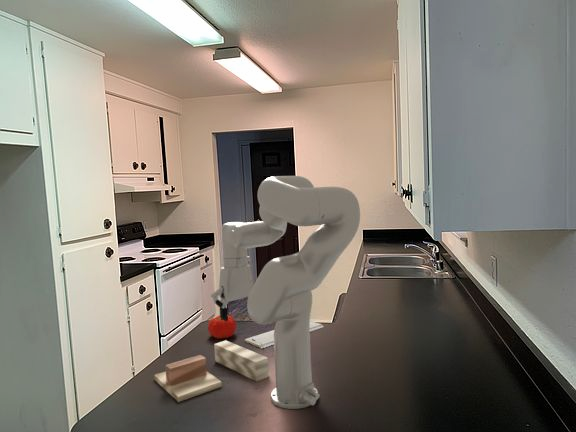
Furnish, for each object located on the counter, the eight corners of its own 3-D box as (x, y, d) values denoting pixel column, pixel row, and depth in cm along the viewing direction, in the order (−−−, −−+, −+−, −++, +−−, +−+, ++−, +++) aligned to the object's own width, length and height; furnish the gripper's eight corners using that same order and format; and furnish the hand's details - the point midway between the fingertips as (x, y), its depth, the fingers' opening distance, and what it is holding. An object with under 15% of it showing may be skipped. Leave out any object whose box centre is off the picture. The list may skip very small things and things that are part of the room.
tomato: (216, 330, 170) (215, 312, 169) (241, 332, 166) (240, 314, 166) (202, 340, 160) (201, 320, 159) (228, 342, 156) (227, 322, 156)
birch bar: (268, 377, 126) (267, 357, 126) (256, 382, 123) (255, 362, 123) (226, 357, 143) (225, 340, 142) (215, 361, 140) (214, 344, 139)
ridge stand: (221, 386, 121) (220, 364, 121) (178, 402, 113) (177, 378, 113) (194, 367, 135) (193, 347, 135) (154, 379, 128) (153, 358, 127)
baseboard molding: (327, 329, 167) (306, 323, 176) (326, 322, 167) (305, 316, 176) (264, 351, 147) (244, 343, 156) (264, 343, 147) (244, 335, 156)
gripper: (252, 257, 139) (255, 308, 140) (204, 264, 129) (207, 320, 130) (265, 259, 133) (268, 313, 134) (216, 267, 123) (219, 325, 124)
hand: (238, 316), depth 132 cm, fingers open, 9 cm apart
